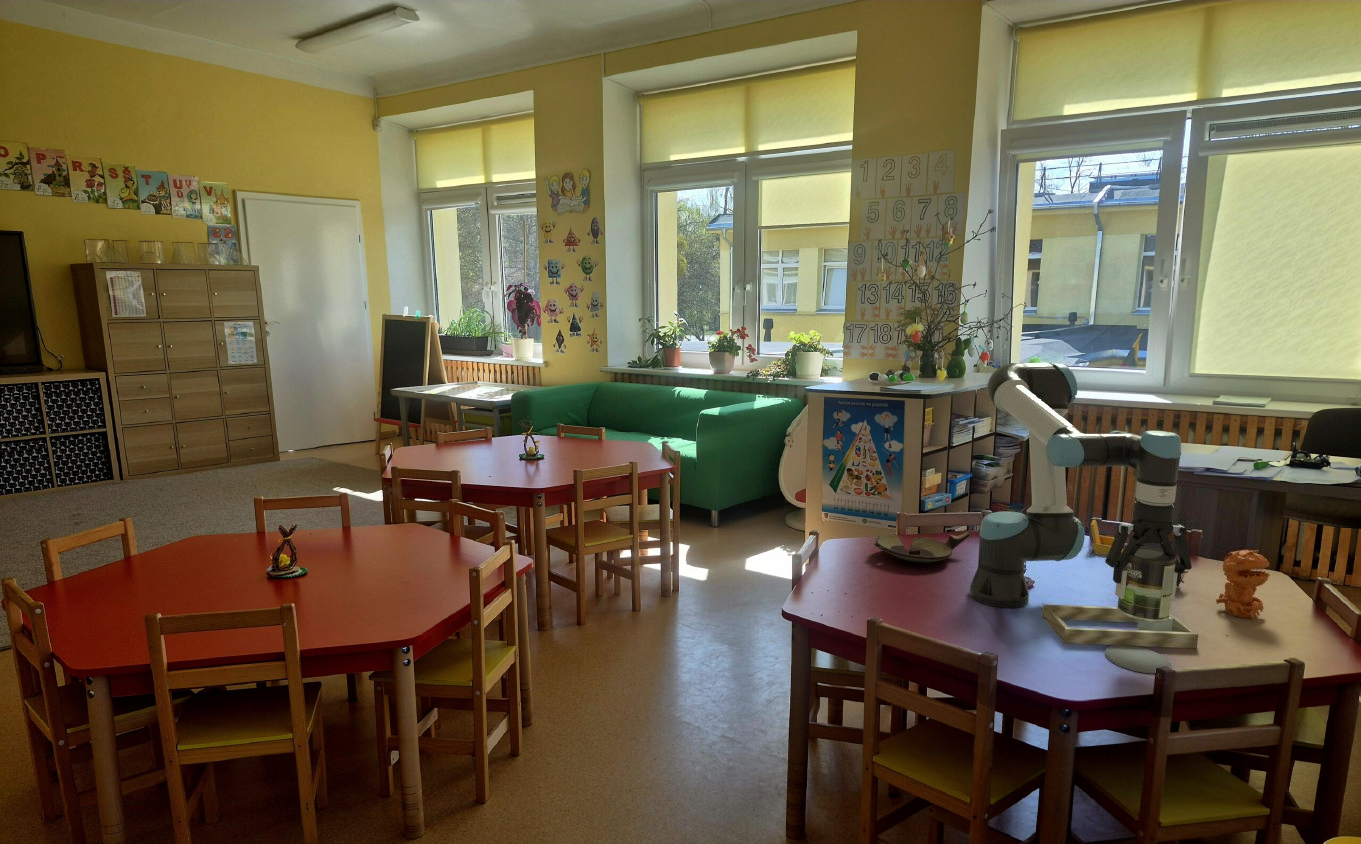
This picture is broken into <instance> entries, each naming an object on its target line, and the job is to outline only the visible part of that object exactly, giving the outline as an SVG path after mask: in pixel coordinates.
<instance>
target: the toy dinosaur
mask: <svg viewBox="0 0 1361 844" xmlns="http://www.w3.org/2000/svg"><path fill="white" fill-rule="evenodd" d="M1259 551H1260V550H1258V549H1255V550H1249V549H1242V550H1236V551H1230V552H1228V553H1227V554H1226V556H1224V559H1223V562H1222V563H1223V564H1222V571H1223V572H1224V574H1223V575H1224V576H1225V577H1226V580H1227V581H1228V582H1226V583H1225V585H1224V592H1223V593H1220V594H1219V596H1218V599H1215V602H1216V605H1218V604H1222V603H1224V609H1225V612H1226V613H1227V614H1229V615H1230V616H1234V617H1238V618H1243V619H1245V618H1246V619H1247V618H1249V619H1250V618H1252V619H1253V618H1254V617H1255V615H1257V616H1258V617H1260V615H1261V613H1260V612H1262V613H1263V611H1264V605H1263V604H1264V603H1263V601H1262V600H1261V599H1260V598H1258V597H1256V596H1254V595H1255V594H1256V593H1255V592H1256V591H1257V588H1258V587H1260V586H1262V585H1264V584H1265V583H1267V581H1268V579H1269V577H1270V575H1271V574H1270V573H1268V572H1266V571H1265V568H1269V567H1270V561H1269V560H1268V559H1267V558H1266V557H1264V555H1262V554H1259V553H1258V552H1259ZM1259 611H1260V612H1259Z"/></svg>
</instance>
